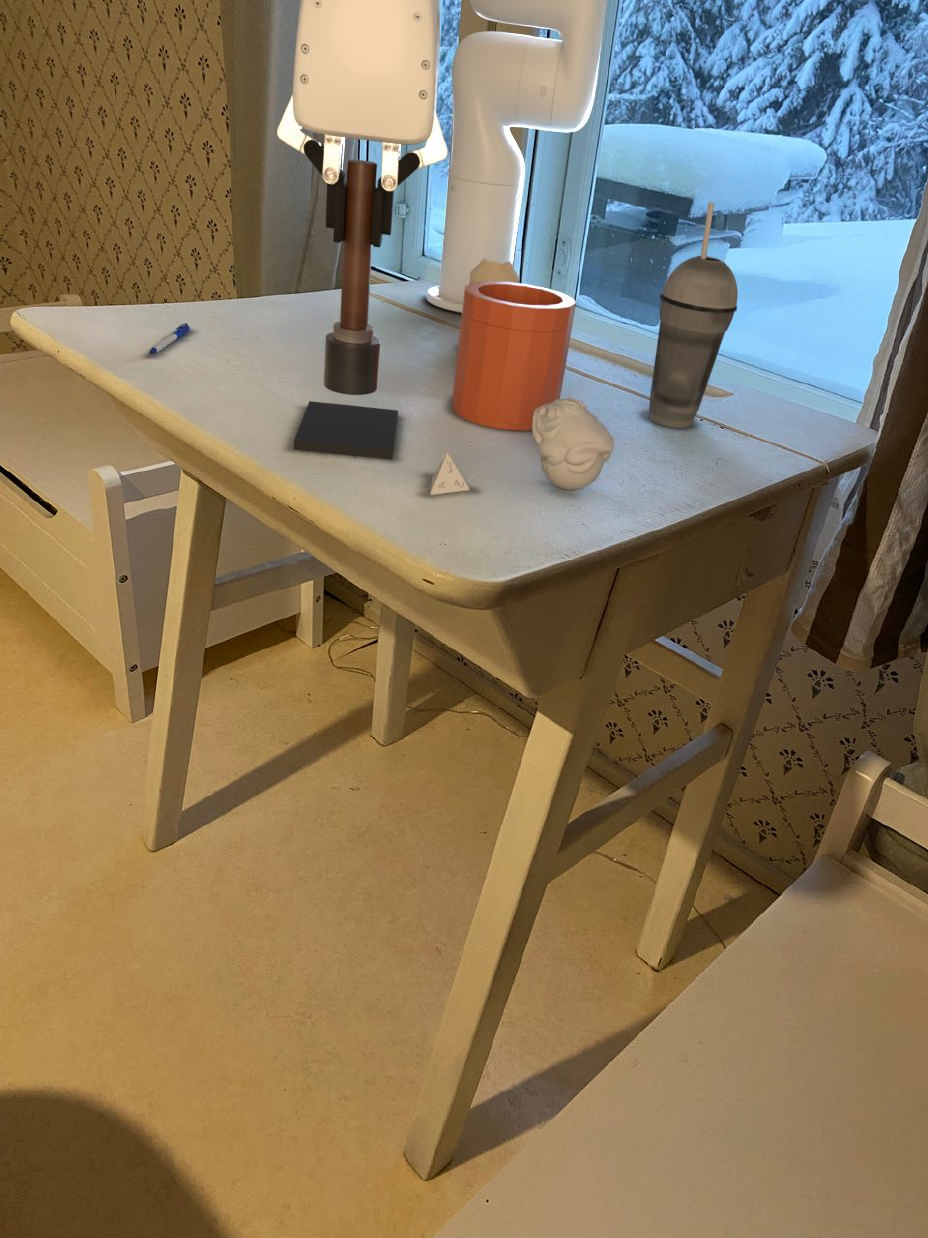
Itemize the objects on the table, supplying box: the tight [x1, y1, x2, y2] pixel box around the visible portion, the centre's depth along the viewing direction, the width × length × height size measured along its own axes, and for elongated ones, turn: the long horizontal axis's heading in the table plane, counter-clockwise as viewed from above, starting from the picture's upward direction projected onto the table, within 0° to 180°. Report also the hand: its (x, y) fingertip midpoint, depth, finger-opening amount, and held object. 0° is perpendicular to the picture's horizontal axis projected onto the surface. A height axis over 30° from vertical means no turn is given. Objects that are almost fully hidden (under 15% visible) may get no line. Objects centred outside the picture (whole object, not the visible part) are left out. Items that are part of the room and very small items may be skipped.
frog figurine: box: [531, 397, 615, 491], centre depth 73 cm, size 6×7×7 cm
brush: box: [323, 159, 381, 396], centre depth 73 cm, size 4×4×17 cm
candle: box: [469, 259, 521, 284], centre depth 105 cm, size 6×6×10 cm
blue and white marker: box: [148, 322, 191, 355], centre depth 96 cm, size 10×1×1 cm, turn 176°
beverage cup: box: [647, 201, 739, 429], centre depth 88 cm, size 7×7×20 cm
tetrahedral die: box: [430, 453, 471, 496], centre depth 71 cm, size 4×3×3 cm
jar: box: [451, 281, 577, 432], centre depth 87 cm, size 10×10×11 cm
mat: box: [293, 400, 399, 460], centre depth 80 cm, size 10×8×1 cm
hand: (358, 239), depth 72 cm, fingers closed on brush, 2 cm apart
